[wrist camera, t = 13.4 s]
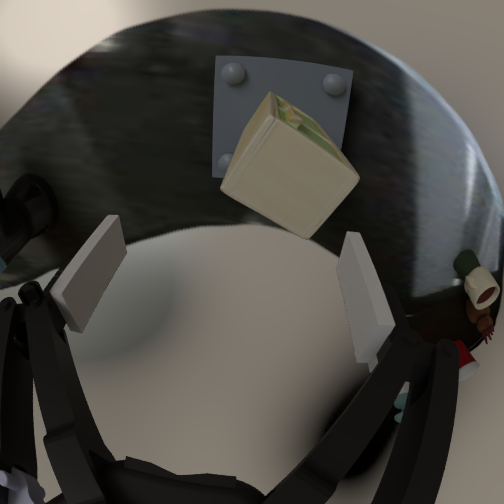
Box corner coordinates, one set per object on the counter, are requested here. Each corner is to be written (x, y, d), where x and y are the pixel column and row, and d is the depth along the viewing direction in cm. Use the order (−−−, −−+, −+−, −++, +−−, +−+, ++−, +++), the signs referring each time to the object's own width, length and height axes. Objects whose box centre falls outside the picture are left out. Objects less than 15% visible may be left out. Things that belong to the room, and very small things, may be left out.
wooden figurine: (460, 308, 63) (479, 350, 51) (465, 294, 60) (487, 337, 48) (477, 303, 62) (497, 343, 50) (483, 289, 59) (505, 330, 47)
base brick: (219, 163, 46) (210, 179, 41) (223, 57, 36) (214, 55, 30) (327, 174, 46) (334, 191, 40) (343, 70, 35) (355, 70, 30)
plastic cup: (473, 336, 71) (485, 364, 61) (453, 355, 77) (463, 383, 68) (457, 332, 70) (469, 363, 60) (435, 352, 76) (445, 382, 66)
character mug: (441, 264, 55) (464, 305, 44) (458, 240, 51) (485, 279, 40) (466, 275, 56) (488, 313, 46) (482, 254, 52) (508, 291, 42)
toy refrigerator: (322, 118, 35) (368, 172, 18) (292, 158, 39) (305, 244, 22) (273, 85, 33) (272, 103, 16) (243, 128, 37) (214, 191, 20)
